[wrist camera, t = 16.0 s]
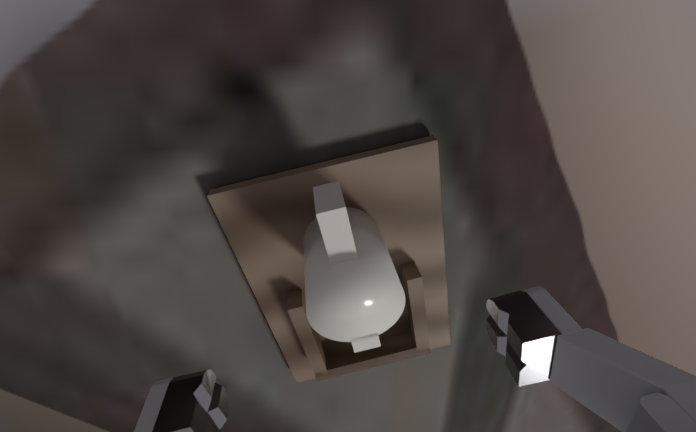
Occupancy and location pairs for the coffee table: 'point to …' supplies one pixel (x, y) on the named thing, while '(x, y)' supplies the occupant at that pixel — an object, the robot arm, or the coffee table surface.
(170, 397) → the robot arm
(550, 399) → the coffee table surface
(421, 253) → the cradle board
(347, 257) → the white capsule with handle
